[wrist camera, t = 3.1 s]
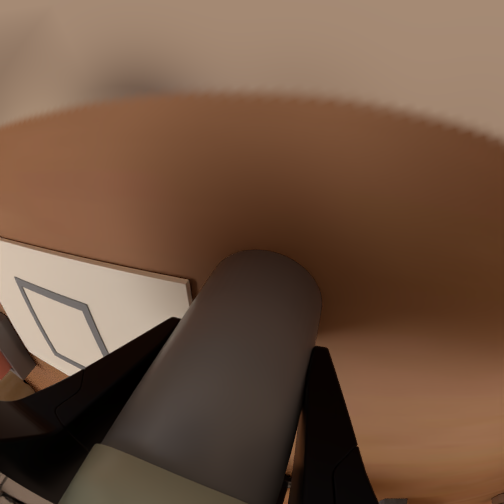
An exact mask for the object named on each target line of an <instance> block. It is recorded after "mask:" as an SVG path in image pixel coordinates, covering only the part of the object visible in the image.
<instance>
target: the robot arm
mask: <svg viewBox="0 0 504 504" xmlns="http://www.w3.org/2000/svg"><path fill="white" fill-rule="evenodd" d="M180 320H181V318H177V317H170V318H169V319H167V320H165V321H164V322H162V323H160V324H158V325H157V326H155V327H153V328H152V329H150V330H148V331H147V332H145V333H143V334H142V335H140V336H138V337H137V338H135V339H133V340H131V341H130V342H128V343H126V344H125V345H123V346H121V347H120V348H118V349H116V350H114V351H113V352H111V353H109V354H108V355H106V356H104V357H102V358H101V359H99V360H97V361H96V362H94V363H92V364H90V365H89V366H87V367H85V369H82V370H80V371H78V372H77V373H75V374H73V375H71V376H69V377H67V378H66V379H64V380H62V381H60V382H58V383H56V384H53V385H51V386H49V387H47V388H45V389H42V390H40V391H38V392H36V393H33V394H31V395H29V396H26V397H24V398H21V399H18V400H14V401H1V400H0V504H58V503H59V501H60V499H61V498H62V496H63V494H64V493H65V491H66V490H67V488H68V486H69V485H70V483H71V481H72V480H73V478H74V476H75V475H76V473H77V472H78V470H79V468H80V467H81V465H82V464H83V462H84V460H85V459H86V457H87V456H88V454H89V452H90V451H91V449H92V448H93V446H94V445H95V444H101V442H102V441H103V439H104V438H105V436H106V434H107V433H108V431H109V430H110V428H111V426H112V425H113V423H114V422H115V420H116V419H117V417H118V415H119V414H120V412H121V411H122V409H123V408H124V406H125V404H126V403H127V401H128V400H129V398H130V397H131V395H132V394H133V392H134V390H135V389H136V387H137V386H138V384H139V383H140V381H141V380H142V378H143V376H144V375H145V373H146V372H147V370H148V369H149V367H150V366H151V364H152V363H153V361H154V360H155V358H156V357H157V355H158V354H159V352H160V350H161V349H162V347H163V346H164V344H165V343H166V341H167V340H168V338H169V337H170V335H171V334H172V332H173V331H174V329H175V328H176V326H177V325H178V323H179V322H180ZM357 445H358V444H357V440H356V437H355V434H354V430H353V427H352V423H351V420H350V417H349V413H348V410H347V407H346V403H345V400H344V397H343V394H342V390H341V387H340V384H339V381H338V378H337V374H336V371H335V368H334V365H333V362H332V359H331V356H330V353H329V350H328V348H326V347H320V346H314V348H313V352H312V357H311V362H310V367H309V372H308V377H307V381H306V387H305V394H304V401H303V406H302V410H301V414H300V419H299V423H298V429H297V439H296V447H295V456H294V464H293V471H292V478H289V477H286V476H284V479H283V483H282V486H281V490H280V493H279V496H278V500H277V503H276V504H283V502H284V498H285V495H286V491H287V488H290V493H289V500H288V504H379V502H378V500H377V498H376V495H375V493H374V491H373V489H372V486H371V483H370V481H369V478H368V476H367V473H366V470H365V467H364V464H363V461H362V457H361V454H360V450H359V447H358V446H357Z"/></svg>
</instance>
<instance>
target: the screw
mask: <svg viewBox="0 0 504 504" xmlns="http://www.w3.org/2000/svg"><path fill="white" fill-rule="evenodd" d="M492 504H504V493H503V494H500V495H497V496H495V497H493V498H492Z"/></svg>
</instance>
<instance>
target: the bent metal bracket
mask: <svg viewBox="0 0 504 504" xmlns="http://www.w3.org/2000/svg"><path fill="white" fill-rule="evenodd" d="M379 504H407V499H383V500H381V501H380V502H379Z"/></svg>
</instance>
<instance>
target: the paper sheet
mask: <svg viewBox="0 0 504 504" xmlns="http://www.w3.org/2000/svg"><path fill="white" fill-rule="evenodd" d="M0 302H1V304H2V306H3V308H4V310H5V312H6V313H7V315H8V317H9V319H10V321H11V323H12V324H13V326H14V328H15V330H16V331H17V333H18V335H19V336H20V338H21V340H22V341H23V343H24V345H25V346H26V348H27V349H28V351H29V352H30V353H32V354H34V355H35V356H37V357H38V358H40V359H41V360H43V361H45V362H46V363H48V364H50V365H51V366H53V367H55V368H56V369H58V370H60V371H62V372H63V373H65V374H67V375H69V376H71V375H73V374H75V373H77V372H78V371H80V370H82V369H85V367H87V366H89V365H90V364H92V363H94V362H96V361H97V360H99V359H101V358H102V357H104V356H106V355H108V354H109V353H111V352H113V351H114V350H116V349H118V348H120V347H121V346H123V345H125V344H126V343H128V342H130V341H131V340H133V339H135V338H137V337H138V336H140V335H142V334H143V333H145V332H147V331H148V330H150V329H152V328H153V327H155V326H157V325H158V324H160V323H162V322H164V321H165V320H167V319H169V318H170V317H177V318H181V319H182V317H183V316H184V314H185V313H186V311H187V310H188V308H189V307H190V305H191V304H192V296H191V289H190V283H189V280H188V279H183V278H178V277H173V276H167V275H162V274H157V273H152V272H148V271H143V270H138V269H133V268H128V267H124V266H119V265H114V264H110V263H105V262H100V261H96V260H91V259H87V258H83V257H78V256H74V255H70V254H65V253H61V252H57V251H53V250H48V249H44V248H40V247H36V246H32V245H28V244H24V243H20V242H16V241H12V240H8V239H5V238H1V237H0Z"/></svg>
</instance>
